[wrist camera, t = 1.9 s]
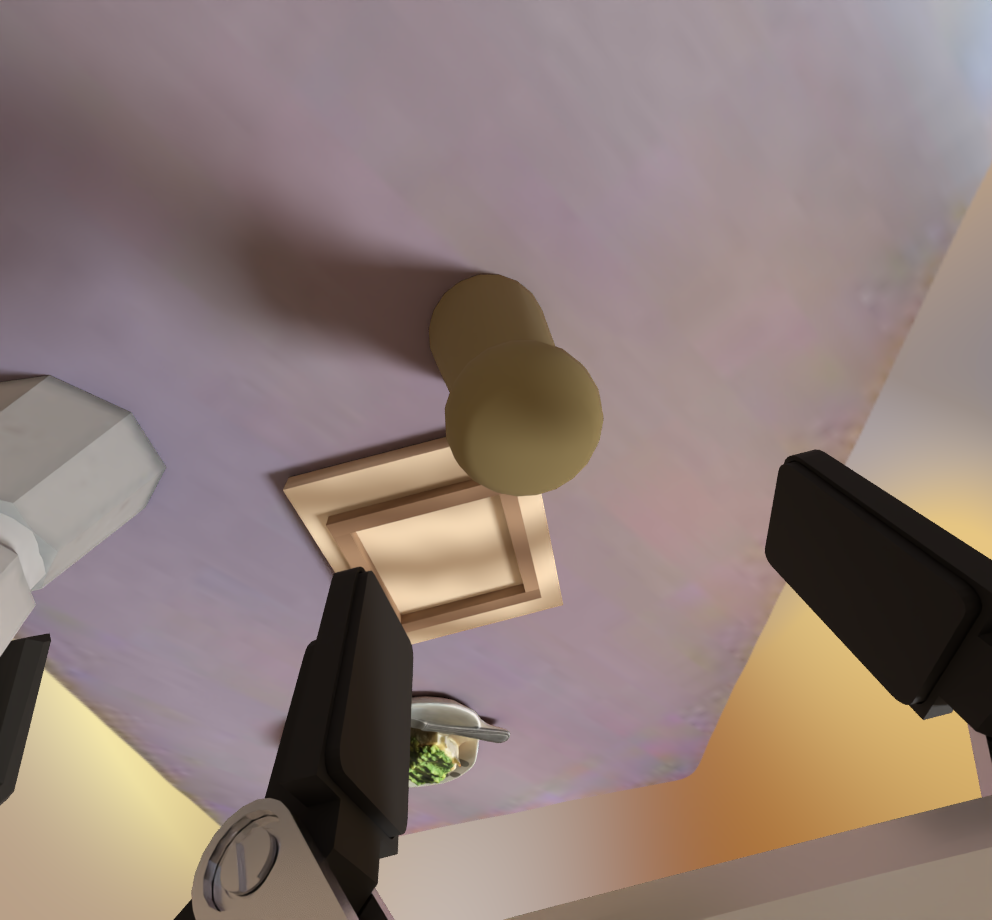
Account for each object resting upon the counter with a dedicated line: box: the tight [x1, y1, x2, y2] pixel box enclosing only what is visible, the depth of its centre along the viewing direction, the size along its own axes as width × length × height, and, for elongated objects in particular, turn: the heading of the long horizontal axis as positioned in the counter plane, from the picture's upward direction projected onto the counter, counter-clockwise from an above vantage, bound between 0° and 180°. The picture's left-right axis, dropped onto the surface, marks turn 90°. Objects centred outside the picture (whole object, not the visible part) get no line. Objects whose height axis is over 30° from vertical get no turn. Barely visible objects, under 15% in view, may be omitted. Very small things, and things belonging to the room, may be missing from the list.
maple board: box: [283, 437, 563, 644], centre depth 28 cm, size 16×14×2 cm
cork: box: [429, 275, 604, 496], centre depth 17 cm, size 6×6×11 cm
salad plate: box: [409, 696, 510, 787], centre depth 41 cm, size 19×18×5 cm
